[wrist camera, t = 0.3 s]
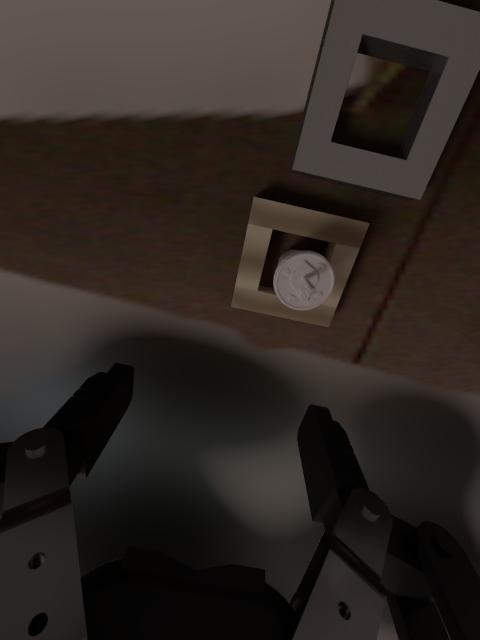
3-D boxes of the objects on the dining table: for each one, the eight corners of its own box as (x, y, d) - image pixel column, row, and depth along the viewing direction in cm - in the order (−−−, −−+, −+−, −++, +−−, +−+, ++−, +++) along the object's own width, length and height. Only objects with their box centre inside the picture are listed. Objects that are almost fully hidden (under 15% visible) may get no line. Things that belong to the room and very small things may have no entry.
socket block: (253, 197, 33) (254, 196, 30) (360, 221, 33) (369, 223, 31) (232, 299, 38) (231, 306, 36) (323, 318, 39) (328, 327, 36)
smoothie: (314, 235, 34) (351, 256, 22) (315, 282, 37) (349, 325, 24) (266, 242, 35) (274, 266, 22) (270, 288, 38) (280, 332, 25)
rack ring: (331, -2, 25) (341, -27, 22) (476, 37, 26) (502, 18, 23) (288, 172, 31) (292, 169, 29) (406, 199, 32) (420, 199, 29)
